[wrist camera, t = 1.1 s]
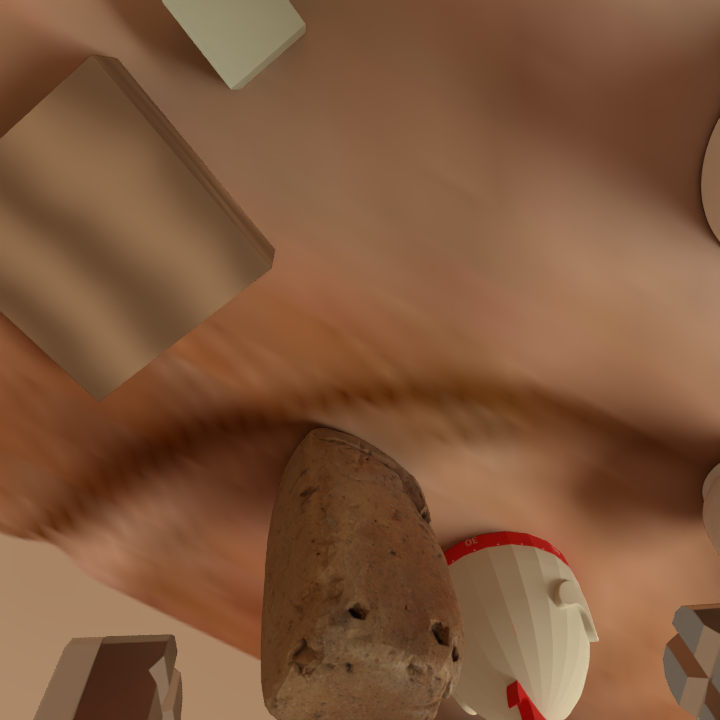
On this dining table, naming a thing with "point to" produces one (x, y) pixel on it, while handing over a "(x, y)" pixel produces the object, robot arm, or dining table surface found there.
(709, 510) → the teacup
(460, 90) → the dining table surface
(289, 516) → the block
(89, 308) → the walnut base block
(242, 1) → the sage cube
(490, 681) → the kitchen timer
